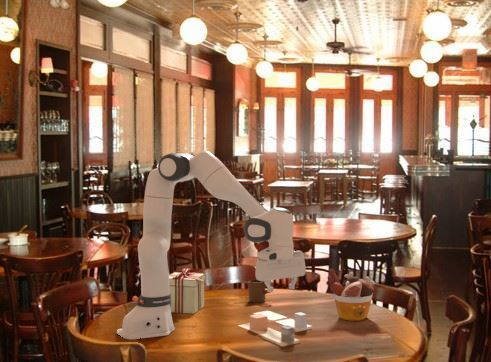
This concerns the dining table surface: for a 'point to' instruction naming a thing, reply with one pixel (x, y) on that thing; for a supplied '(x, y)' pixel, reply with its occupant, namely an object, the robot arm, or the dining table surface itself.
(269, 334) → the white long base
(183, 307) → the gift box
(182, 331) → the dining table surface
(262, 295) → the mug
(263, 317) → the terracotta block
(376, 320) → the dining table surface
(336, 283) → the bucket of meat
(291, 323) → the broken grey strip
